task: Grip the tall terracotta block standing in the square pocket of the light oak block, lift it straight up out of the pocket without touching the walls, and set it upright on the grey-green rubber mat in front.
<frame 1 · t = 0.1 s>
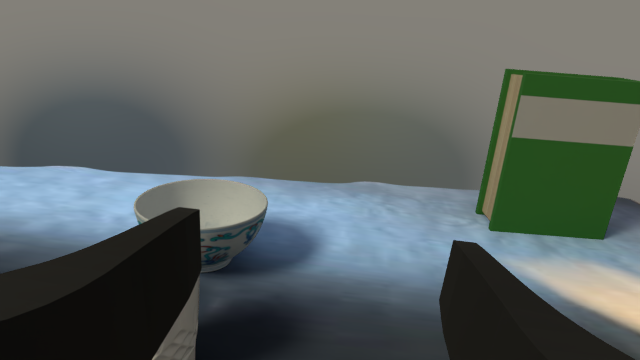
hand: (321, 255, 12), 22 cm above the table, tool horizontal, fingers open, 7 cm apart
hardback book: (535, 226, 71), on the table
chinaware: (204, 259, 53), on the table
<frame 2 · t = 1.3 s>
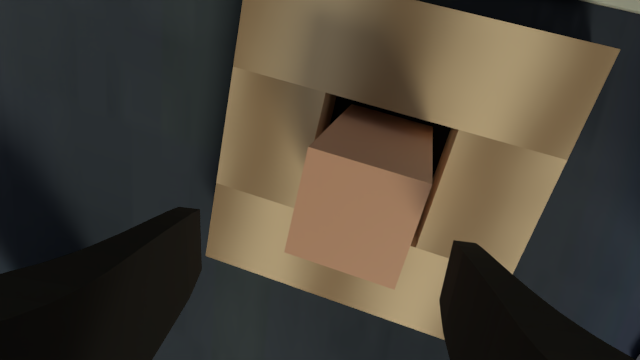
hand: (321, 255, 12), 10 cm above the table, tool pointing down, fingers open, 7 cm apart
pocket block: (380, 153, 21), on the table
terracotta block: (369, 180, 18), in the pocket block
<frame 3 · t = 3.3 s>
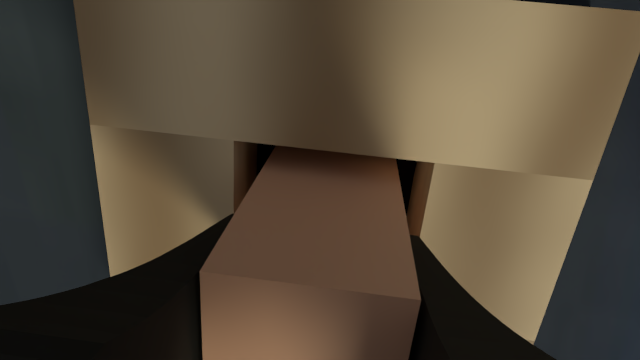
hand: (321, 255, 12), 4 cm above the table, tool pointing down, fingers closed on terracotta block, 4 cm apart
pocket block: (331, 196, 16), on the table
terracotta block: (321, 256, 12), in the pocket block, touching gripper
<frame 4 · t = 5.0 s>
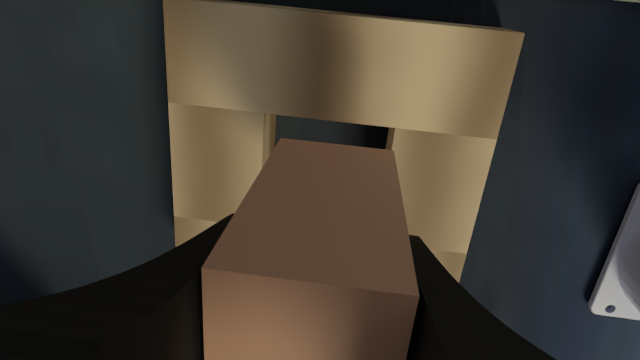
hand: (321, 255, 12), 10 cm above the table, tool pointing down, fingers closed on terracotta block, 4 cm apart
pocket block: (328, 157, 22), on the table
terracotta block: (321, 254, 12), point 10 cm above the table, touching gripper
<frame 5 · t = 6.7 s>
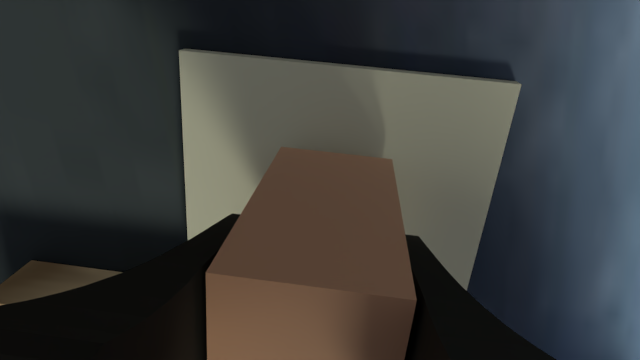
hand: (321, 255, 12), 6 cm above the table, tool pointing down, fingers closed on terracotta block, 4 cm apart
mat: (335, 178, 17), on the table
terracotta block: (320, 261, 13), point 5 cm above the table, touching gripper
when the fingers open (5 cm above the table, at t = 7.5 s): terracotta block stays where it is, resting on mat.
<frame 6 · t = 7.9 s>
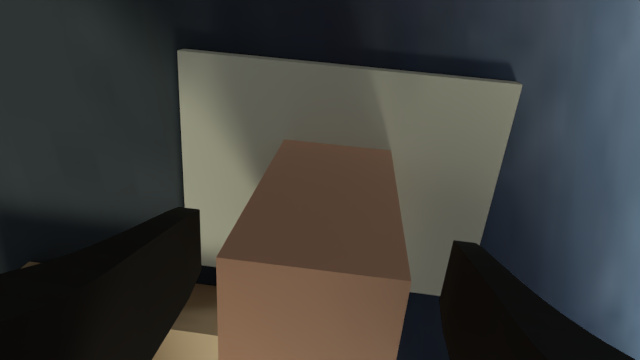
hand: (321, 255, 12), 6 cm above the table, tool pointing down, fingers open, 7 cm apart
mat: (334, 179, 17), on the table
terracotta block: (322, 248, 13), on the mat, point 5 cm above the table
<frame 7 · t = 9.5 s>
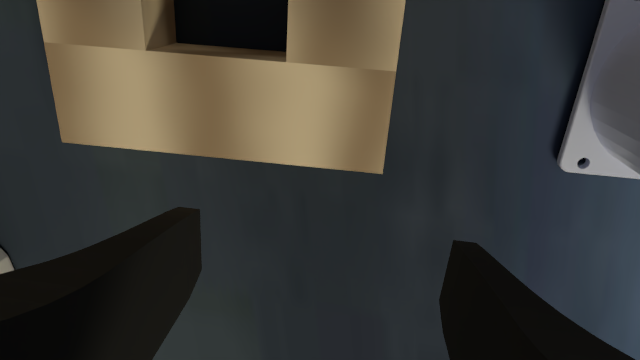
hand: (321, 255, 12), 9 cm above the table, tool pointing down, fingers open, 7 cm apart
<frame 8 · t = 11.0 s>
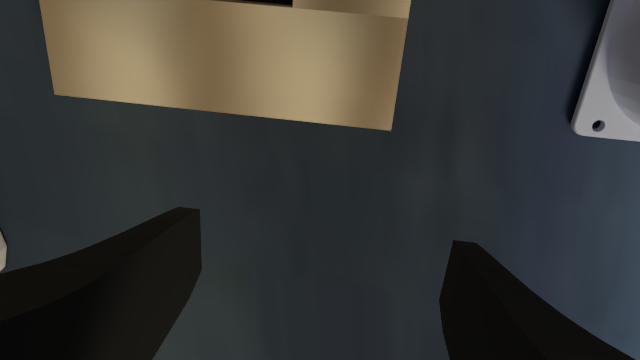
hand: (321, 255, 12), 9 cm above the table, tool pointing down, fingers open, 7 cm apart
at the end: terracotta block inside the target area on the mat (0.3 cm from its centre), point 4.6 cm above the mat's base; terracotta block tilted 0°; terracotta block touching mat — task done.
